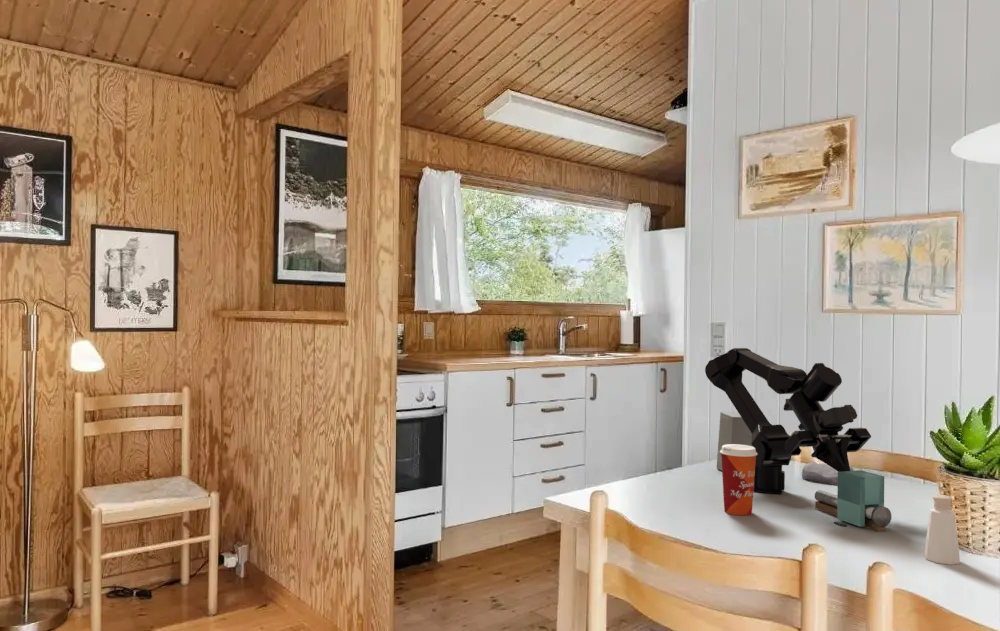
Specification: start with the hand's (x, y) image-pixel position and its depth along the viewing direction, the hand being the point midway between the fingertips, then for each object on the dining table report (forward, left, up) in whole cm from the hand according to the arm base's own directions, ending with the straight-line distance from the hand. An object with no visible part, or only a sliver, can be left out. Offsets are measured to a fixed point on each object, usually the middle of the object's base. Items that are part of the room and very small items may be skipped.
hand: (848, 475), depth 149 cm
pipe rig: (0, 0, -9) cm, 9 cm away
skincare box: (-25, +37, -9) cm, 46 cm away
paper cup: (-21, -4, -9) cm, 24 cm away
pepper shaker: (+14, -21, -9) cm, 27 cm away
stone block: (-3, +37, -10) cm, 39 cm away
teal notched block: (+2, -3, -9) cm, 10 cm away
